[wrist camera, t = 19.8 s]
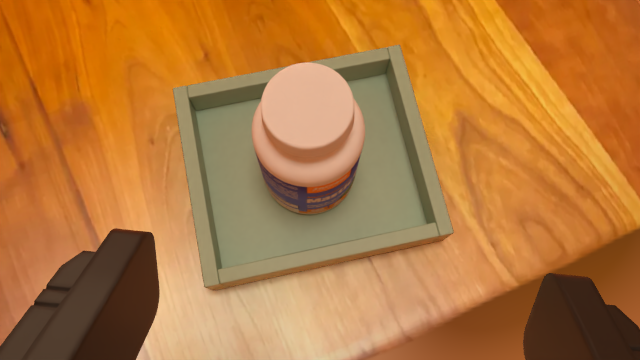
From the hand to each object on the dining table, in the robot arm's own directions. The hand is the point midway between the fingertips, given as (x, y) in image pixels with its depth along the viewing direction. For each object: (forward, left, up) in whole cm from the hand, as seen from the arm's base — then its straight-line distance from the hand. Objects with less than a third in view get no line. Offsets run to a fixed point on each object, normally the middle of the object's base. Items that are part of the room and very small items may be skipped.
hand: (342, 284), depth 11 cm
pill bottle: (-1, -8, -19) cm, 21 cm away
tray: (-1, -8, -20) cm, 21 cm away
